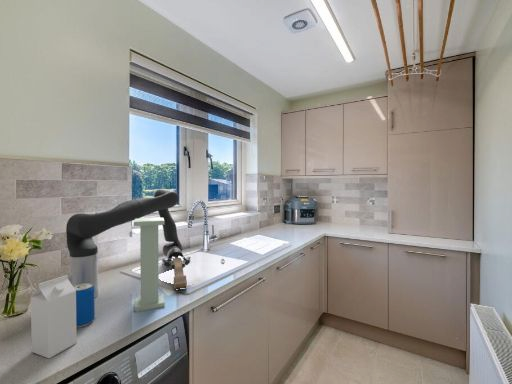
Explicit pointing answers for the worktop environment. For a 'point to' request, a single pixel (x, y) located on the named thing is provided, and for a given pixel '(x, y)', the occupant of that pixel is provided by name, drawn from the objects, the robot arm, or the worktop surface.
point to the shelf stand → (149, 264)
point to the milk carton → (53, 317)
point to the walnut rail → (179, 274)
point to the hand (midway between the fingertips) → (178, 266)
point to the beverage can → (84, 304)
